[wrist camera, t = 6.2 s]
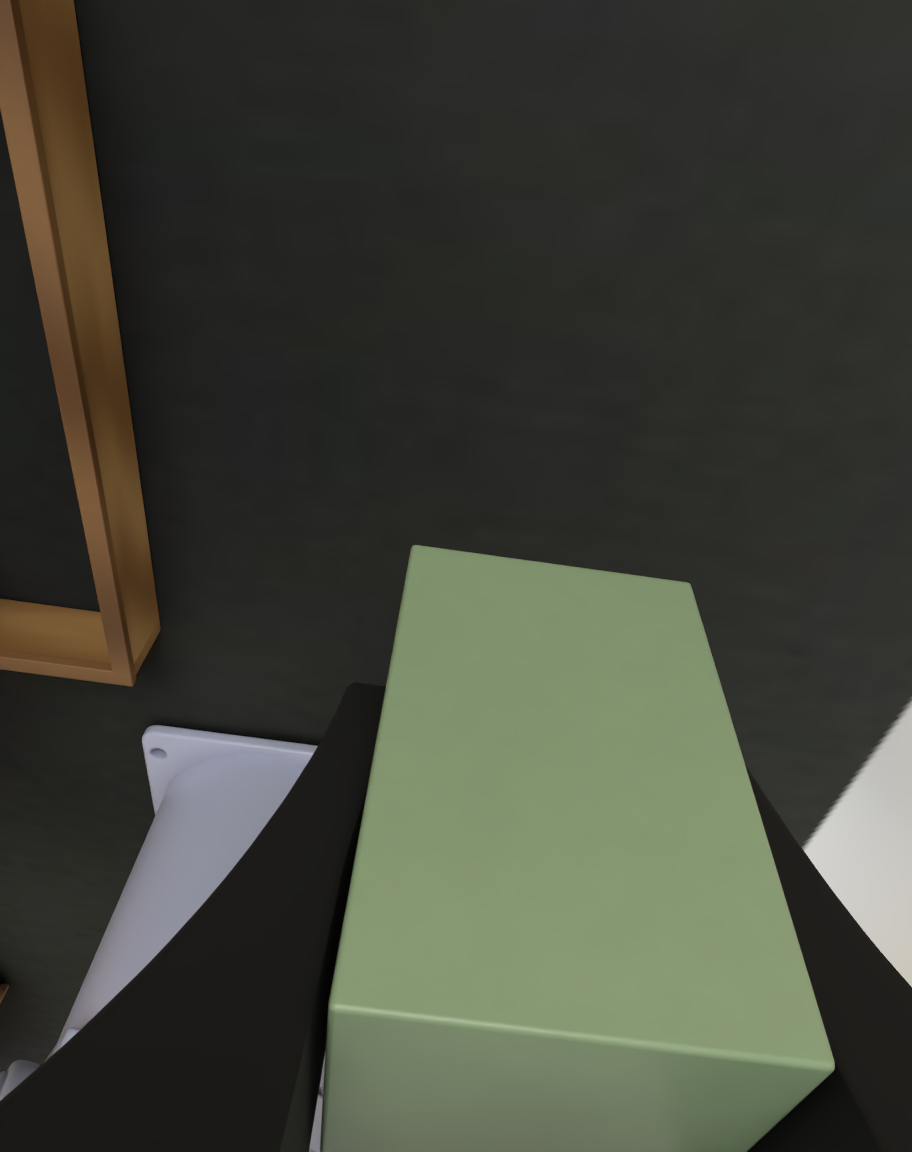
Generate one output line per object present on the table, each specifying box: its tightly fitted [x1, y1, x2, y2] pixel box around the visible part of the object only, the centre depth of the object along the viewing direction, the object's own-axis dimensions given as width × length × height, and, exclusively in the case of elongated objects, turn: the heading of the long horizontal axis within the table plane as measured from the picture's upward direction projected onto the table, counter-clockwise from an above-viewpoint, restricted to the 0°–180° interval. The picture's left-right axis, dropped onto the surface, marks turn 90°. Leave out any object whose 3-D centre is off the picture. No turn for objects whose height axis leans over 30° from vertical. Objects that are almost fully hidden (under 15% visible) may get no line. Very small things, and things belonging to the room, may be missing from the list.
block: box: [320, 545, 835, 1152], centre depth 11 cm, size 4×4×7 cm
